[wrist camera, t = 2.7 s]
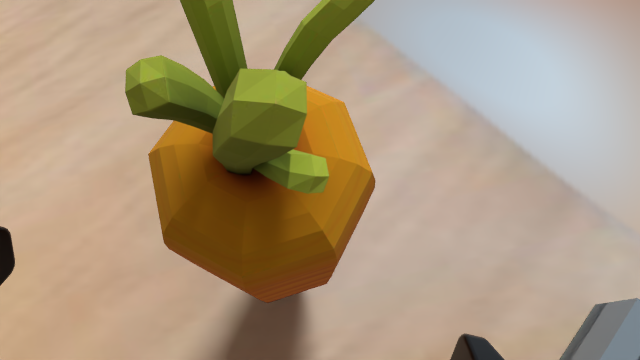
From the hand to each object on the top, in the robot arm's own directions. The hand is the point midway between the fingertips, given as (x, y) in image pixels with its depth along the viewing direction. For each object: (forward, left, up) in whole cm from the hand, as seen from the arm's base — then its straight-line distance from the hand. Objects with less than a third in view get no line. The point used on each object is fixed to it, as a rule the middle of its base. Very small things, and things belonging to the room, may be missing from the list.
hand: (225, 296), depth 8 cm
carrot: (+2, +1, -10) cm, 11 cm away
